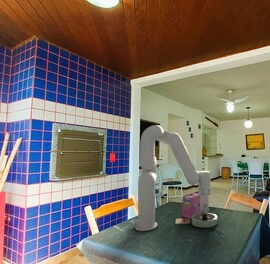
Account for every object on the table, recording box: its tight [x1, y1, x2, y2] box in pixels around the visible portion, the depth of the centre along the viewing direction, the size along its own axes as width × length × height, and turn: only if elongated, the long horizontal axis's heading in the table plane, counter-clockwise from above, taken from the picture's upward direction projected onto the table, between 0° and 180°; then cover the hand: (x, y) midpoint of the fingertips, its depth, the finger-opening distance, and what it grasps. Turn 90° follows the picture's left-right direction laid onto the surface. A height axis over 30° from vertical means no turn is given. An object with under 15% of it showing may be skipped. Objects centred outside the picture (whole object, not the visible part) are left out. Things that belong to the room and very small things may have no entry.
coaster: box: [174, 217, 191, 225], centre depth 125 cm, size 9×9×1 cm
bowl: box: [191, 212, 218, 229], centre depth 121 cm, size 15×15×4 cm
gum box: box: [181, 190, 202, 220], centre depth 142 cm, size 24×8×14 cm, turn 148°
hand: (204, 222), depth 121 cm, fingers closed on eraser, 3 cm apart
